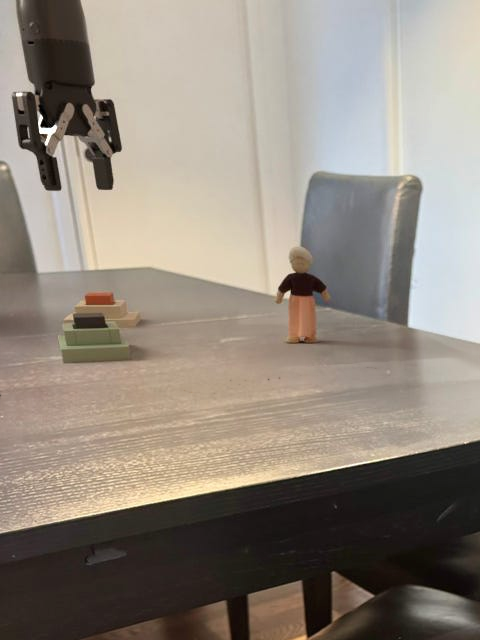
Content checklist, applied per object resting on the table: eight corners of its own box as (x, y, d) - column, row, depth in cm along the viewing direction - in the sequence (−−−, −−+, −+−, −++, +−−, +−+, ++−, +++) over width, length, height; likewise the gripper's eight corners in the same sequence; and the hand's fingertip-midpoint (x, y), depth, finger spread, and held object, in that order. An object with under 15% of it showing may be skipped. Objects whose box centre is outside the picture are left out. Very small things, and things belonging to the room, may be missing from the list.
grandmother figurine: (282, 344, 128) (275, 247, 122) (276, 340, 131) (269, 244, 125) (335, 342, 131) (331, 246, 125) (328, 338, 134) (323, 244, 128)
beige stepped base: (64, 328, 136) (60, 306, 135) (73, 320, 143) (70, 299, 141) (134, 327, 138) (131, 306, 136) (140, 319, 145) (137, 299, 143)
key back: (86, 307, 137) (84, 295, 136) (90, 304, 140) (88, 292, 140) (111, 307, 138) (109, 295, 137) (114, 304, 141) (113, 292, 140)
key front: (74, 327, 118) (72, 313, 117) (104, 326, 119) (102, 312, 119) (76, 332, 115) (74, 317, 114) (106, 330, 116) (104, 316, 116)
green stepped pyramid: (59, 348, 122) (55, 320, 120) (123, 345, 125) (119, 318, 123) (63, 363, 113) (58, 333, 111) (131, 359, 116) (127, 331, 114)
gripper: (78, 47, 116) (100, 189, 123) (-19, 32, 104) (12, 190, 112) (123, 45, 113) (142, 190, 121) (29, 30, 102) (57, 191, 109)
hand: (80, 190), depth 116 cm, fingers open, 8 cm apart
